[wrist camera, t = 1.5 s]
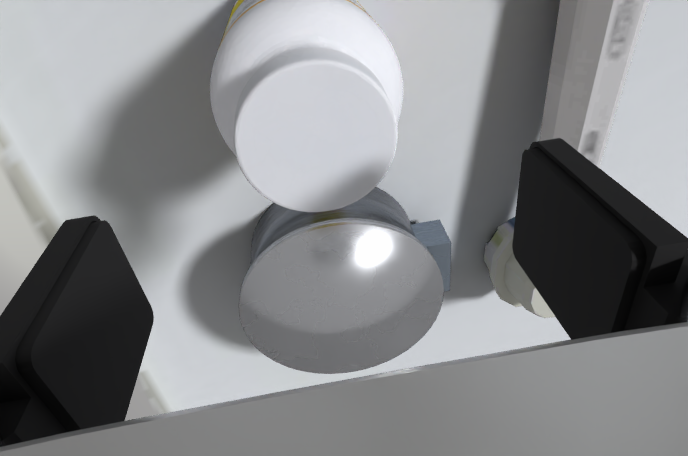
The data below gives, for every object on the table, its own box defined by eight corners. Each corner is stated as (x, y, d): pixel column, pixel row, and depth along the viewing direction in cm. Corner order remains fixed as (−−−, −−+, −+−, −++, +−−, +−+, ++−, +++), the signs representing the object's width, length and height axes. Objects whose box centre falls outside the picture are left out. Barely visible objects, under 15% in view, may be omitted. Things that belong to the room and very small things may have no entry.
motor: (222, 189, 28) (212, 246, 23) (433, 154, 28) (464, 204, 24) (265, 323, 35) (264, 387, 31) (434, 294, 35) (457, 353, 31)
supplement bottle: (340, 113, 26) (384, 256, 16) (220, 82, 24) (180, 221, 14) (380, -15, 23) (471, 62, 12) (244, -62, 21) (214, -18, 10)
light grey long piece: (737, -163, 18) (594, 340, 29) (624, -126, 24) (542, 281, 35) (608, -161, 17) (515, 349, 29) (525, -124, 23) (475, 287, 35)
